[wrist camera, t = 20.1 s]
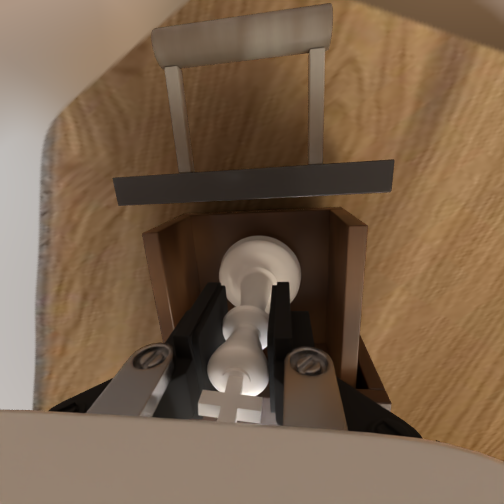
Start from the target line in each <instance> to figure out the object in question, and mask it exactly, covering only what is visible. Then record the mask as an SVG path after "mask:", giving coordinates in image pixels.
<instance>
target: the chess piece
mask: <svg viewBox="0 0 504 504" xmlns="http://www.w3.org/2000/svg"><path fill="white" fill-rule="evenodd" d="M219 281H220V283H221V285H225V287H226V296H227V299H228V300H229V301H230V302H231V303H232V304H233V305H234V306H236V307H234V308H233V309H231V310H230V311H228V313H227V314H226V315H225V317H224V319H223V322H222V325H223V327H222V331H223V336H224V338H225V340H226V342H225V343H223V344H222V345H221V346H219V347H218V349H217V350H216V351H215V352H214V353H213V354H212V356H211V357H210V359H209V362H208V366H207V373H208V377H209V380H210V382H211V383H212V385H213V386H214V387H215V388H216V389H217V390H218V391H219V392H217V391H209V390H202V393H201V396H200V399H199V401H198V415H200V416H208V417H215V418H218V419H217V422H232V423H237V421H245V422H252V423H259V424H260V422H261V412H262V397H257V396H256V395H258V394H260V393H261V392H262V391H263V390H264V389H265V388H266V386H267V384H268V382H269V372H268V362H267V359H266V356H265V354H264V353H263V349H264V348H266V347H267V331H268V321H269V315H268V314H269V312H270V302H271V292H272V285H277V282H289V285H290V303H291V302H292V301H293V299H294V298H295V296H296V295H297V292H298V290H299V286H300V282H301V268H300V264H299V261H298V259H297V257H296V255H295V254H294V253H293V251H292V250H291V249H290V248H289V247H288V246H287V245H285V244H284V243H283V242H281V241H279V240H277V239H275V238H272V237H268V236H250V237H247V238H244V239H241V240H239V241H238V242H236V243H235V244H233V245H232V246H231V247H230V248H229V249H228V250H227V252H226V253H225V255H224V257H223V259H222V262H221V266H220V270H219Z"/></svg>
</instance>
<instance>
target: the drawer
mask: <svg viewBox="0 0 504 504" xmlns="http://www.w3.org/2000/svg"><path fill="white" fill-rule="evenodd" d="M332 26H333V8H332V4H331V3H327V4H321V5H314V6H307V7H300V8H293V9H286V10H279V11H272V12H265V13H258V14H251V15H244V16H237V17H230V18H224V19H217V20H210V21H203V22H196V23H189V24H182V25H175V26H168V27H161V28H155V29H153V30H152V35H151V38H152V46H153V50H154V54H155V57H156V59H157V62H158V64H159V65H160V67H161V68H162V69H163V70H165V77H166V84H167V91H168V98H169V105H170V112H171V119H172V126H173V134H174V141H175V148H176V155H177V162H178V169H179V173H178V174H163V175H148V176H133V177H117V178H113V183H114V187H115V192H116V197H117V201H118V205H119V206H126V205H146V204H166V203H186V202H206V201H226V200H247V199H267V198H287V197H307V196H327V195H347V194H367V193H387V192H391V190H392V180H393V170H394V160H393V159H392V160H377V161H362V162H347V163H331V164H323V128H324V79H325V51H327V50H329V47H330V43H331V37H332ZM305 53H309V55H308V165H301V166H285V167H270V168H255V169H240V170H224V171H209V172H194V165H193V156H192V148H191V140H190V132H189V124H188V116H187V108H186V100H185V92H184V84H183V76H182V70H181V68H189V67H197V66H206V65H214V64H222V63H230V62H239V61H247V60H255V59H264V58H272V57H280V56H288V55H297V54H305ZM193 172H194V173H193ZM367 232H368V226H367V225H366V224H365V223H363V222H362V221H360V220H359V219H357V218H356V217H355V216H353V215H352V214H350V213H349V212H347V211H346V210H344V209H343V208H342V207H329V208H306V209H283V210H261V211H238V212H215V213H192V214H182V215H180V216H179V217H176V218H174V219H172V220H170V221H168V222H166V223H163V224H161V225H159V226H157V227H155V228H153V229H150V230H148V231H146V232H144V233H142V237H143V242H144V247H145V252H146V257H147V262H148V267H149V272H150V277H151V283H152V288H153V293H154V298H155V303H156V308H157V313H158V318H159V323H160V328H161V334H162V339H163V343H165V342H166V340H167V339H168V337H169V336H170V334H171V333H172V332H173V330H174V329H175V327H176V326H177V324H178V323H179V321H180V320H181V318H182V317H183V315H184V314H185V312H186V311H187V310H190V309H191V307H192V306H193V304H194V303H195V301H196V300H197V298H198V297H199V295H200V294H201V292H202V290H203V289H204V287H205V286H206V284H207V283H208V282H220V281H219V270H220V266H221V262H222V259H223V257H224V255H225V253H226V252H227V250H228V249H229V248H230V247H231V246H232V245H233V244H235V243H236V242H238V241H239V240H241V239H244V238H247V237H250V236H268V237H272V238H275V239H277V240H279V241H281V242H283V243H284V244H285V245H287V246H288V247H289V248H290V249H291V250H292V251H293V253H294V254H295V255H296V257H297V259H298V261H299V264H300V268H301V282H300V286H299V290H298V292H297V295H296V296H295V298H294V299H293V301H292V302H291V303H290V308H291V311H309V315H310V321H311V327H312V333H313V339H314V345H315V348H318V349H321V350H322V351H324V352H326V353H327V354H328V355H329V356H330V357H331V359H332V362H333V365H334V369H335V374H336V377H338V378H339V379H341V380H343V381H344V382H346V383H347V384H349V385H350V386H352V387H353V388H355V389H356V376H357V363H358V350H359V337H360V324H361V311H362V297H363V284H364V271H365V258H366V245H367ZM227 306H228V311H230V310H231V309H233V308H234V307H236V306H234V305H233V304H232V303H231V302H230V301H229V300H228V299H227ZM268 315H269V314H268ZM263 353H264V354H265V356H266V359H267V362H268V353H267V347H266V348H264V349H263ZM267 385H269V382H268V384H267Z"/></svg>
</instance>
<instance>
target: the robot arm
mask: <svg viewBox="0 0 504 504" xmlns="http://www.w3.org/2000/svg"><path fill="white" fill-rule="evenodd" d="M227 313H228V306H227V296H226V287H225V285H221V283H220V282H208V283H207V284H206V286H205V287H204V289H203V290H202V292H201V294H200V295H199V297H198V298H197V300H196V301H195V303H194V304H193V306H192V307H191V309H190V310H187V311H186V312H185V314H184V315H183V317H182V318H181V320H180V321H179V323H178V324H177V326H176V327H175V329H174V330H173V332H172V333H171V334H170V336H169V337H168V339H167V340H166V342H165V343H153V344H149V345H146V346H144V347H142V348H140V349H138V350H137V351H135V352H134V353H133V354H132V355H131V356H130V358H129V359H128V360H127V361H126V363H125V364H124V365H123V366H122V368H121V369H120V370H119V372H118V373H117V374H116V375H115V377H114V378H112V379H110V380H108V381H106V382H104V383H102V384H99V385H97V386H95V387H93V388H91V389H89V390H87V391H85V392H82V393H80V394H78V395H76V396H74V397H72V398H70V399H68V400H66V401H63V402H61V403H60V404H58V405H56V406H54V407H53V408H51V409H50V410H49V411H35V410H0V504H504V461H502V460H499V459H496V458H494V457H491V456H488V455H486V454H483V453H480V452H477V451H473V450H470V449H466V448H462V447H459V446H455V445H451V444H448V443H442V442H439V441H437V440H436V441H432V440H427V439H423V438H422V437H421V436H420V434H419V433H418V432H417V431H416V430H415V429H414V428H413V427H411V426H410V425H409V424H408V423H406V422H405V421H403V420H402V419H400V418H399V417H397V416H396V415H394V414H393V413H391V412H390V411H388V410H387V409H385V408H384V407H382V406H381V405H379V404H377V403H376V402H374V401H373V400H371V399H370V398H368V397H367V396H365V395H364V394H362V393H361V392H359V391H358V390H356V389H355V388H353V387H352V386H350V385H349V384H347V383H346V382H344V381H343V380H341V379H339V378H338V377H336V374H335V369H334V365H333V362H332V359H331V357H330V356H329V355H328V354H327V353H326V352H324V351H322V350H321V349H318V348H315V345H314V339H313V333H312V327H311V321H310V315H309V311H291V308H290V285H289V282H277V285H272V292H271V302H270V312H269V321H268V331H267V353H268V372H269V391H270V410H271V413H275V415H276V422H277V424H279V425H280V426H274V425H260V424H246V423H232V422H217V421H202V419H203V416H200V415H198V401H199V399H200V396H201V393H202V390H209V391H216V388H215V387H214V386H213V385H212V383H211V382H210V380H209V377H208V373H207V366H208V362H209V359H210V357H211V356H212V354H213V353H214V352H215V351H216V350H217V349H218V347H219V346H221V345H222V344H223V343H225V342H226V340H225V338H224V336H223V331H222V327H223V325H222V322H223V319H224V317H225V315H226V314H227ZM189 419H201V420H189Z"/></svg>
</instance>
